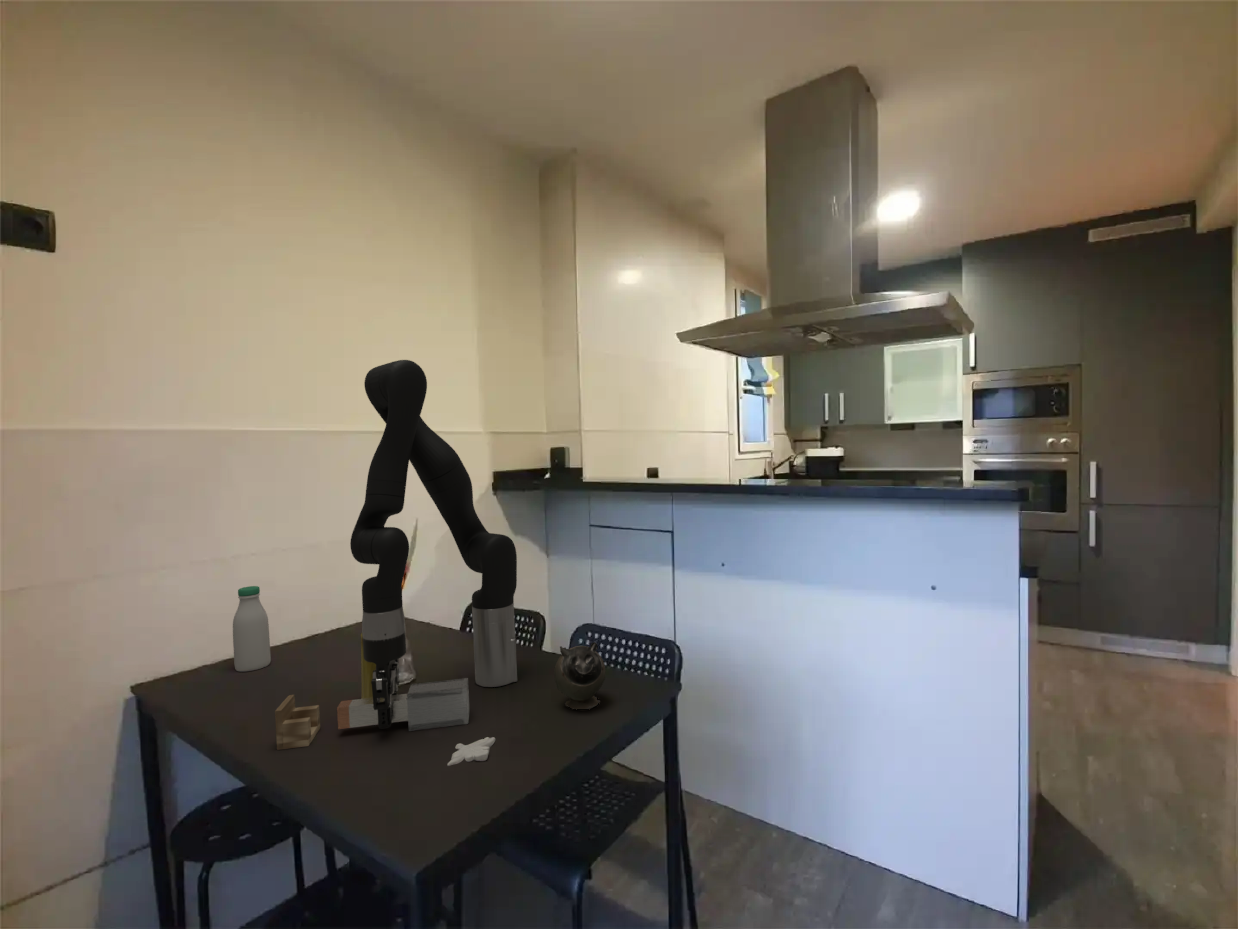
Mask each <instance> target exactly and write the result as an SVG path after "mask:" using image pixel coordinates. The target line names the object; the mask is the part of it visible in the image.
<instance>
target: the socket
mask: <svg viewBox="0 0 1238 929" xmlns="http://www.w3.org/2000/svg"><path fill="white" fill-rule="evenodd" d="M295 698H296V696H295V694H290V695H287V697H286V698H285V699H284V700H283V701H282V702H281V704H279V706H278V707H277V708H276V709H275V710H274V717H275V718H274V720H275V734H276V735H275V736H276V737H275V738H276V750H277V751H279V750H287V749H294V748H301V747H302V748H303V747H309V746H310V744H312V742H313V740H314V739H315V737H316V736H317V734H318V732H319V731H320V729H321V718H320V716H321V715H320V705H319V704H317V705H308V706H300V707H296V699H295Z"/></svg>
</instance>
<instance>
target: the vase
mask: <svg viewBox="0 0 1238 929" xmlns="http://www.w3.org/2000/svg"><path fill="white" fill-rule="evenodd" d="M360 661H361V662H360V666H361V667H360V671H361V672H360V674H361V676H360V677H361V683H360V684H361V698H360V699H365V698H373V694H372V684H371V681H372V679H373V670H376V664H375V663H372V662H371V663H370V662H367V661H365V660H364V655H363V635H362V632H361V633H360Z"/></svg>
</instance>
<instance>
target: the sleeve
mask: <svg viewBox="0 0 1238 929" xmlns="http://www.w3.org/2000/svg"><path fill="white" fill-rule="evenodd" d="M406 694H407V706H408V721H407V722H408V726H407V727H408V732H413V731H422V730H429V729H436V728H437V729H439V728H446V727H453V726H460V725H461V726H462V725H467V724H469V720H470V712H471V711H470V693H469V677H463V678H455V679H446V680H438V681H428V682H420V683H411V684H410V686H409V689H408V692H407V693H406Z"/></svg>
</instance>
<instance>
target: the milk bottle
mask: <svg viewBox="0 0 1238 929" xmlns="http://www.w3.org/2000/svg"><path fill="white" fill-rule="evenodd" d="M260 591H261V590H260V586H258V585H251V586H250V585H249V586H244V587H241V588H239V589H237V595H238V599H239V602H238V607H237V609H236V611H235V614H234V616H233V619H232V620H233V621H232V640H233V641H232V643H233V661H234V669H235V671H236V672H240V673H241V672H251V671H257V670H260V669H262V668H265V667H268V666H269V665H270V664H271V660H272V659H271V641H270V640H271V639H270V626H269V625H270V624H269V617H268V613H267V611H266V610H265V608H264V606H263V604H262V603H261V601H260V595H261V593H260Z"/></svg>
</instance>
